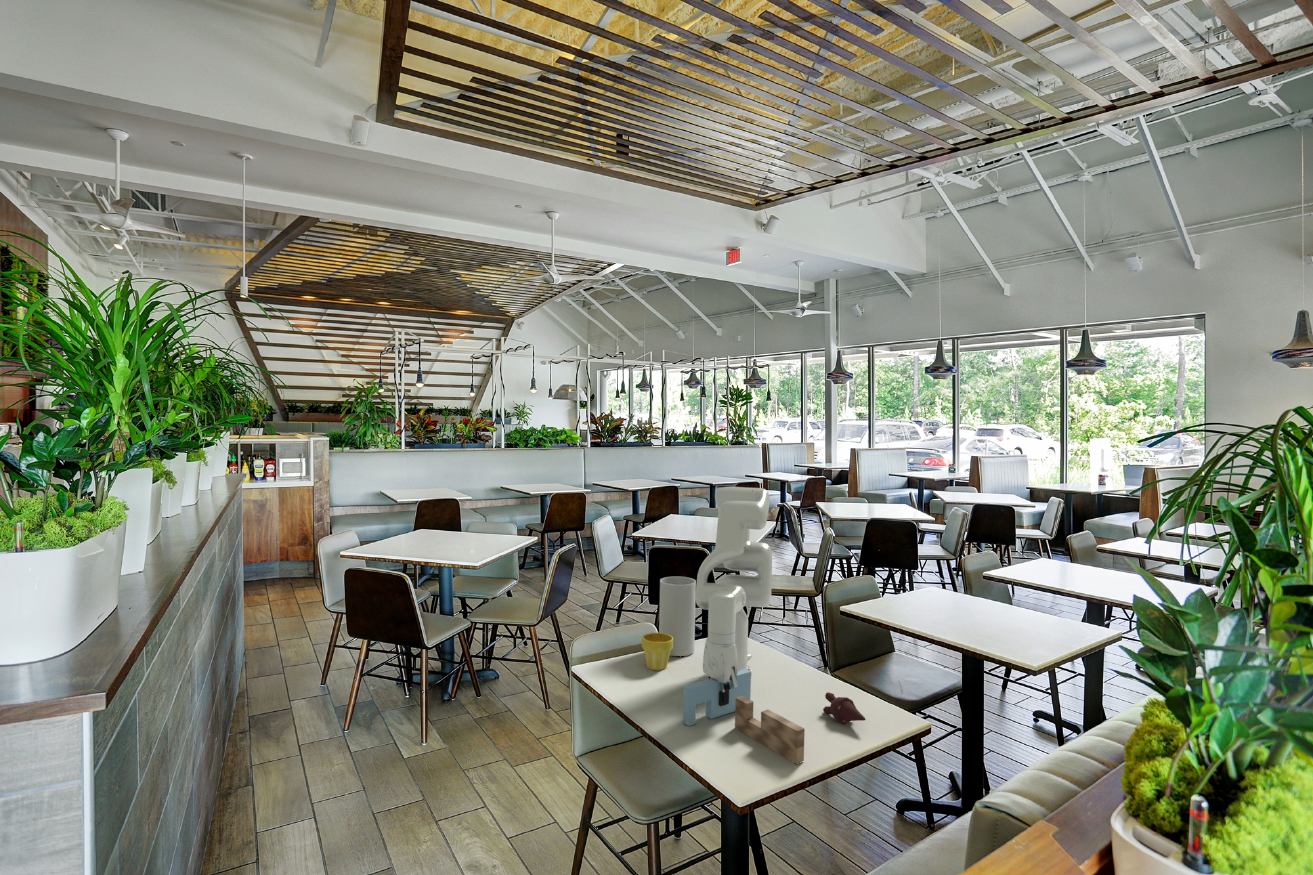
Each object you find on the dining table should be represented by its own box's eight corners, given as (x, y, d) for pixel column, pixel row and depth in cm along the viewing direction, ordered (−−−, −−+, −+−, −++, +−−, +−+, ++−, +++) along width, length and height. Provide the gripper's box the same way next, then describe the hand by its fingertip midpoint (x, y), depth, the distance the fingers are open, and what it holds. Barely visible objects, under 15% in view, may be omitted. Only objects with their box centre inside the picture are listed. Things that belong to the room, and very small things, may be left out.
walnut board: (734, 727, 172) (735, 697, 172) (741, 725, 173) (742, 695, 173) (796, 764, 154) (797, 731, 154) (803, 761, 155) (804, 728, 155)
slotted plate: (744, 703, 186) (745, 668, 186) (750, 706, 184) (750, 671, 184) (683, 722, 174) (683, 685, 174) (688, 726, 172) (689, 688, 172)
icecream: (877, 706, 172) (836, 690, 185) (856, 704, 169) (817, 688, 182) (873, 733, 171) (832, 715, 184) (852, 732, 168) (813, 713, 181)
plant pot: (675, 662, 218) (676, 633, 218) (669, 674, 208) (669, 643, 208) (645, 659, 220) (646, 630, 220) (637, 670, 210) (638, 640, 210)
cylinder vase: (671, 642, 237) (673, 574, 237) (700, 650, 230) (702, 580, 230) (651, 652, 227) (653, 581, 227) (681, 660, 220) (683, 587, 219)
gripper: (692, 630, 183) (691, 695, 184) (730, 648, 170) (728, 717, 171) (713, 626, 188) (712, 689, 188) (751, 642, 174) (750, 710, 175)
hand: (720, 702), depth 179 cm, fingers closed on slotted plate, 2 cm apart
